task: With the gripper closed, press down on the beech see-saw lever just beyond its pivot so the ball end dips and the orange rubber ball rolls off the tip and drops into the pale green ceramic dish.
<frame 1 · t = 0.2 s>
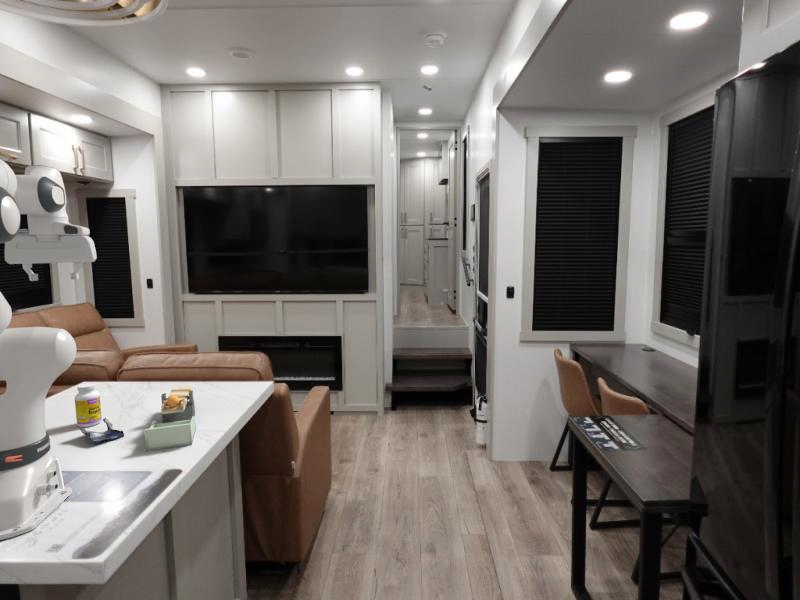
hand: (54, 279, 126), 48 cm above the counter, tool pointing down, fingers open, 8 cm apart
fulcrum: (179, 419, 151), on the counter
snack package: (101, 439, 137), on the counter
ball: (173, 401, 141), point 9 cm above the counter, touching lever
dish: (172, 439, 135), on the counter
lever: (177, 399, 150), point 7 cm above the counter, hinge at 0.0°, touching ball
supplement bottle: (89, 424, 148), on the counter
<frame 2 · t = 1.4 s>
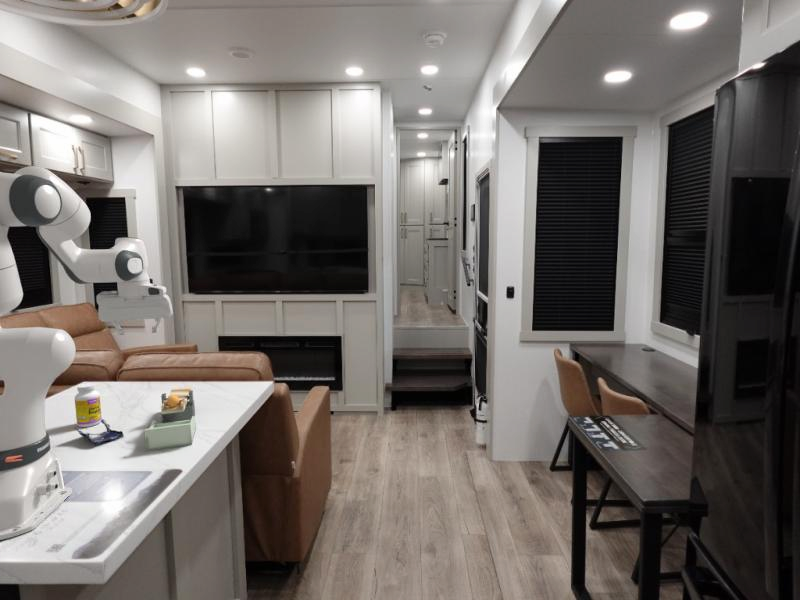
hand: (138, 333, 145), 29 cm above the counter, tool pointing down, fingers open, 8 cm apart
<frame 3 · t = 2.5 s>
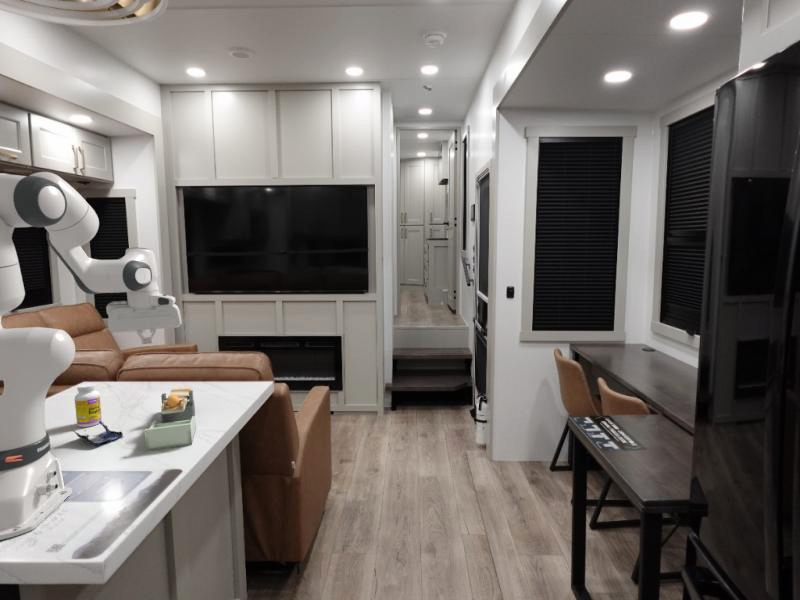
hand: (147, 343, 146), 26 cm above the counter, tool pointing down, fingers closed
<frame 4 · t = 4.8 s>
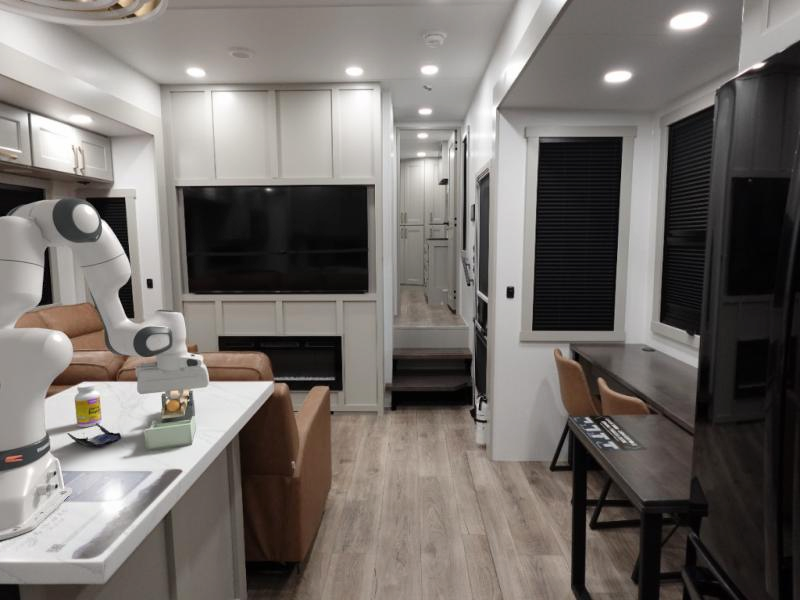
hand: (175, 403, 145), 7 cm above the counter, tool pointing down, fingers closed, pressing on lever
snack package: (96, 444, 134), on the counter
ball: (173, 405, 140), point 8 cm above the counter, tilted 19°, touching lever
lever: (177, 399, 150), point 7 cm above the counter, hinge at -7.1°, touching ball, gripper
everything else where it was.
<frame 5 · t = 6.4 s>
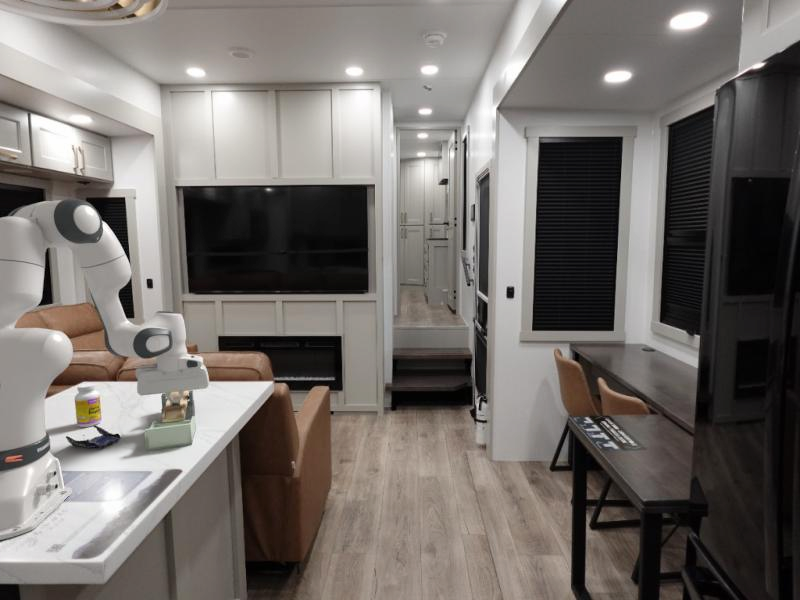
hand: (175, 405, 145), 7 cm above the counter, tool pointing down, fingers closed, pressing on lever
snack package: (95, 446, 132), on the counter
ball: (170, 433, 133), point 2 cm above the counter, tilted 36°, touching dish
lever: (177, 399, 150), point 7 cm above the counter, hinge at -13.4°, touching gripper
everything else where it was.
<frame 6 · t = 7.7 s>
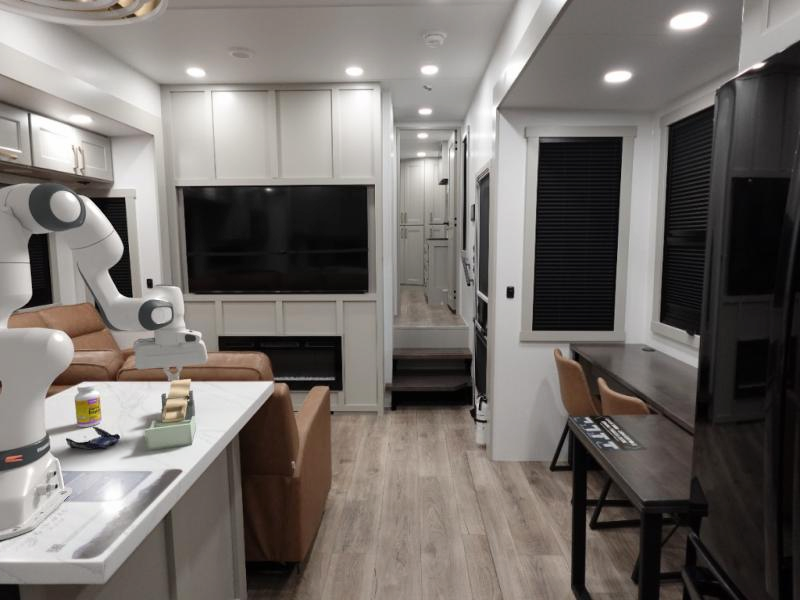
hand: (173, 380, 144), 15 cm above the counter, tool pointing down, fingers closed
ball: (171, 431, 135), point 2 cm above the counter, tilted 98°, touching dish
lever: (177, 399, 150), point 7 cm above the counter, hinge at -13.4°
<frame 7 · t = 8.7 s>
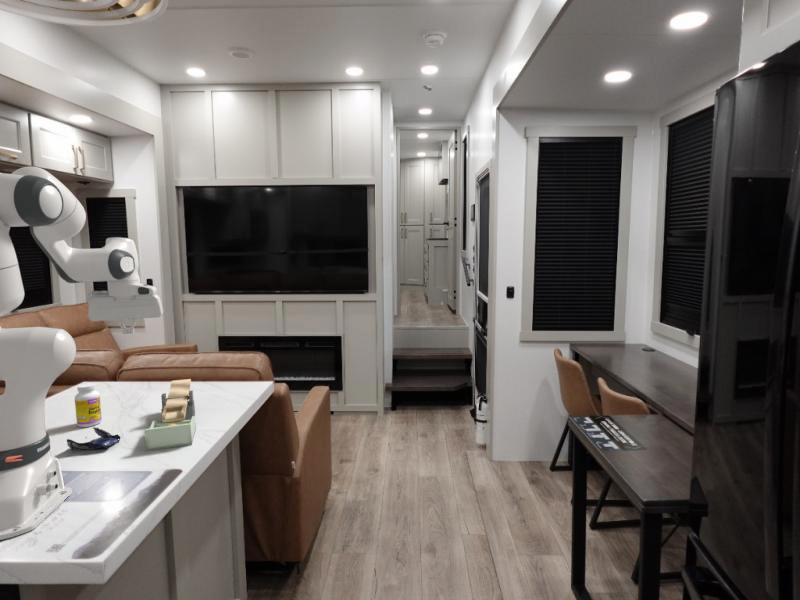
hand: (128, 333, 146), 29 cm above the counter, tool pointing down, fingers closed
ball: (172, 429, 136), point 2 cm above the counter, tilted 145°, touching dish
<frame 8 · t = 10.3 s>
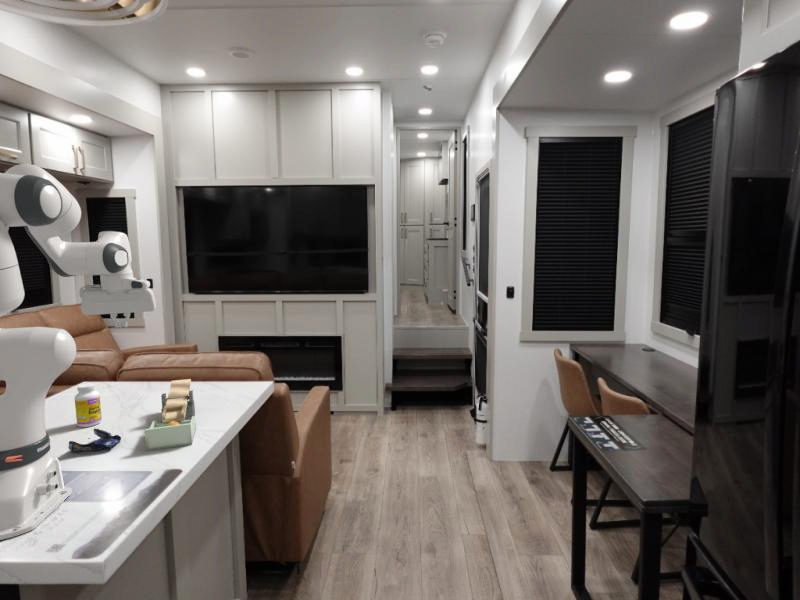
hand: (121, 327, 146), 31 cm above the counter, tool pointing down, fingers closed
snack package: (97, 449, 130), on the counter
ball: (173, 426, 138), point 2 cm above the counter, tilted 139°, touching dish
everything else where it was.
at the end: ball inside the target area on the dish (3.6 cm from its centre), point 2.3 cm above the dish's base; ball touching dish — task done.
